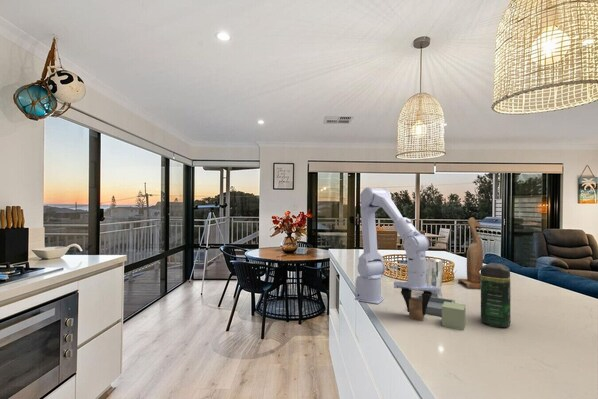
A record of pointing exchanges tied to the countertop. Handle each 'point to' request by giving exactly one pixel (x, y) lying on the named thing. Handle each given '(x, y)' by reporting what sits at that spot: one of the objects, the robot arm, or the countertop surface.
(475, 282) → the bird sculpture
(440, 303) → the grey tray
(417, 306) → the walnut block
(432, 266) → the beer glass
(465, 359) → the countertop surface
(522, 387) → the countertop surface
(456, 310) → the olive block
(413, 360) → the countertop surface
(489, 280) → the coffee jar
